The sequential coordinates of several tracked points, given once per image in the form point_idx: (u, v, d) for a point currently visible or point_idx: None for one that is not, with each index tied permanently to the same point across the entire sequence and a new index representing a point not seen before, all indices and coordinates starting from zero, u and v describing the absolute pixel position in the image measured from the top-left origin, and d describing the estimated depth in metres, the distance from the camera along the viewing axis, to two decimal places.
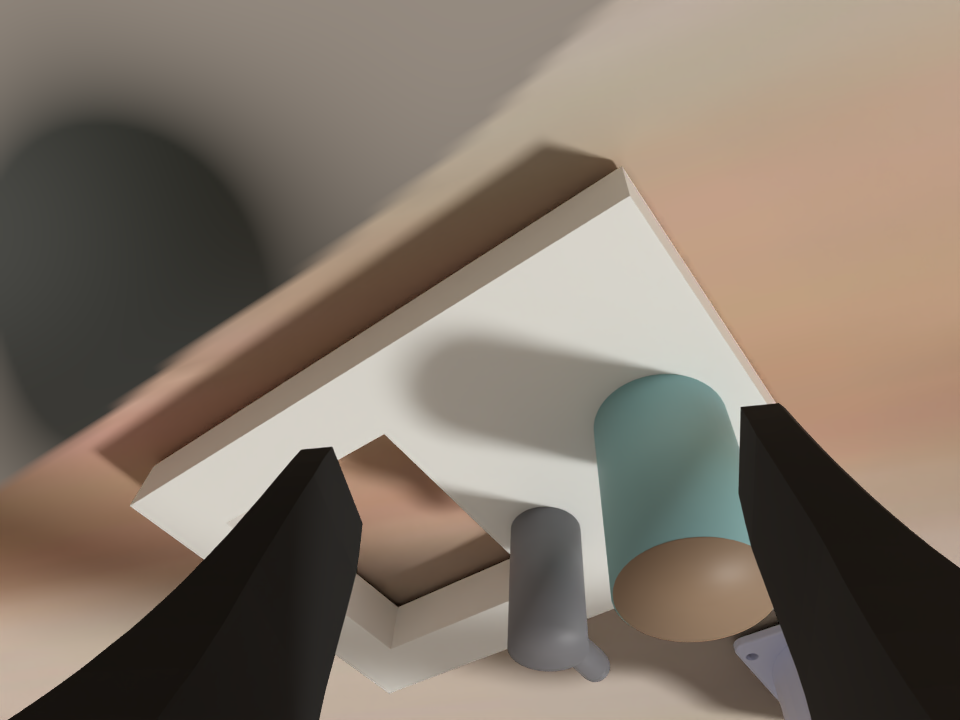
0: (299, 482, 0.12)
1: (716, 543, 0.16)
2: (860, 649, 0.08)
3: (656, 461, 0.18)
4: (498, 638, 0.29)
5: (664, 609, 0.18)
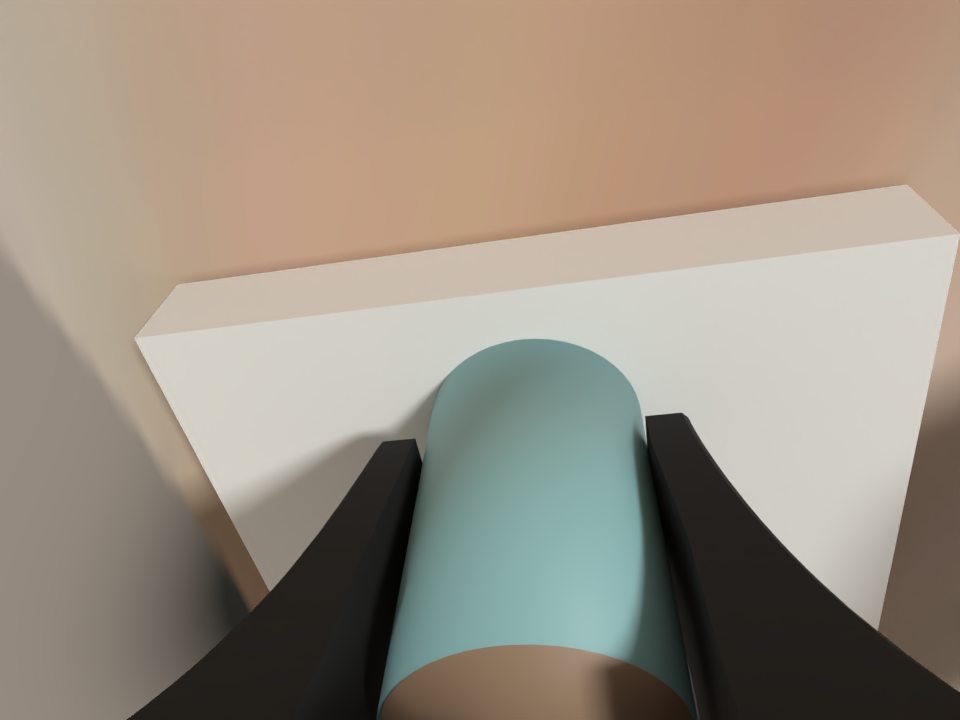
0: (389, 473, 0.12)
1: (410, 690, 0.09)
2: (713, 656, 0.08)
3: None
4: None
5: None
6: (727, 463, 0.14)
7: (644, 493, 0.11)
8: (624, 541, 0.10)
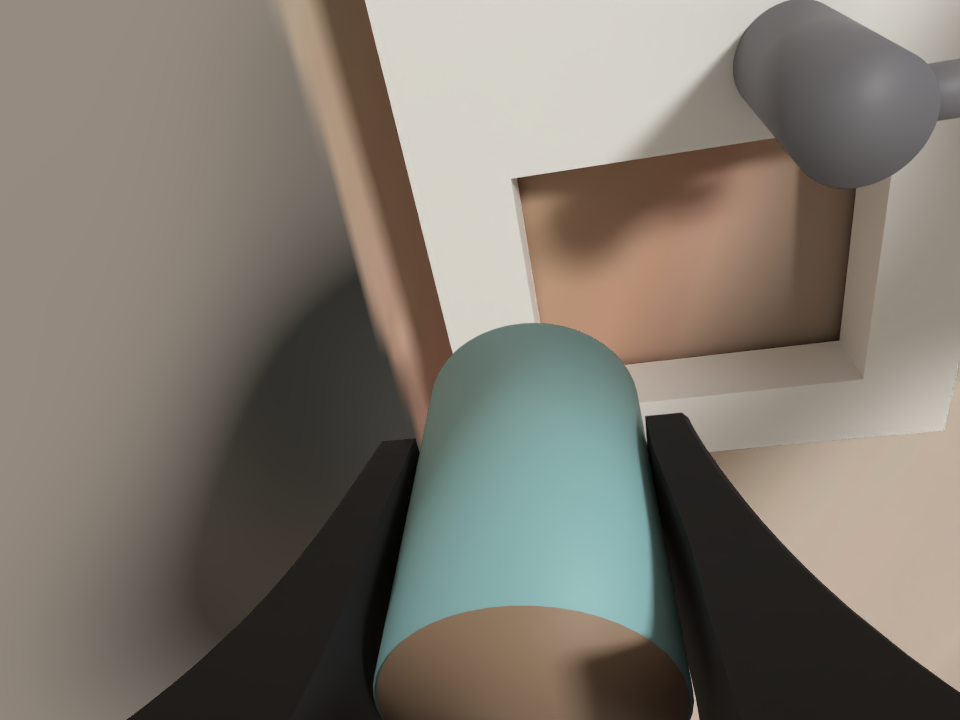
0: (389, 474, 0.12)
1: (408, 653, 0.09)
2: (713, 656, 0.08)
3: None
4: (955, 238, 0.18)
5: None
6: None
7: (642, 472, 0.11)
8: (622, 513, 0.10)
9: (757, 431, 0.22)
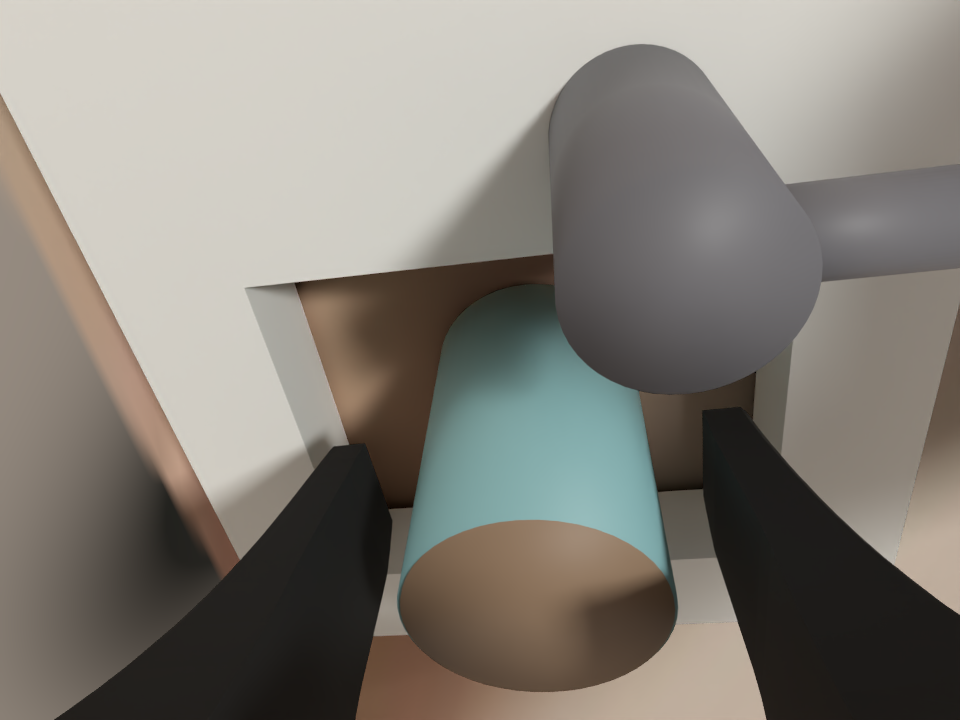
0: (335, 479, 0.12)
1: (429, 566, 0.10)
2: (801, 652, 0.08)
3: None
4: (891, 388, 0.13)
5: (552, 653, 0.11)
6: None
7: (633, 415, 0.12)
8: (616, 447, 0.11)
9: None
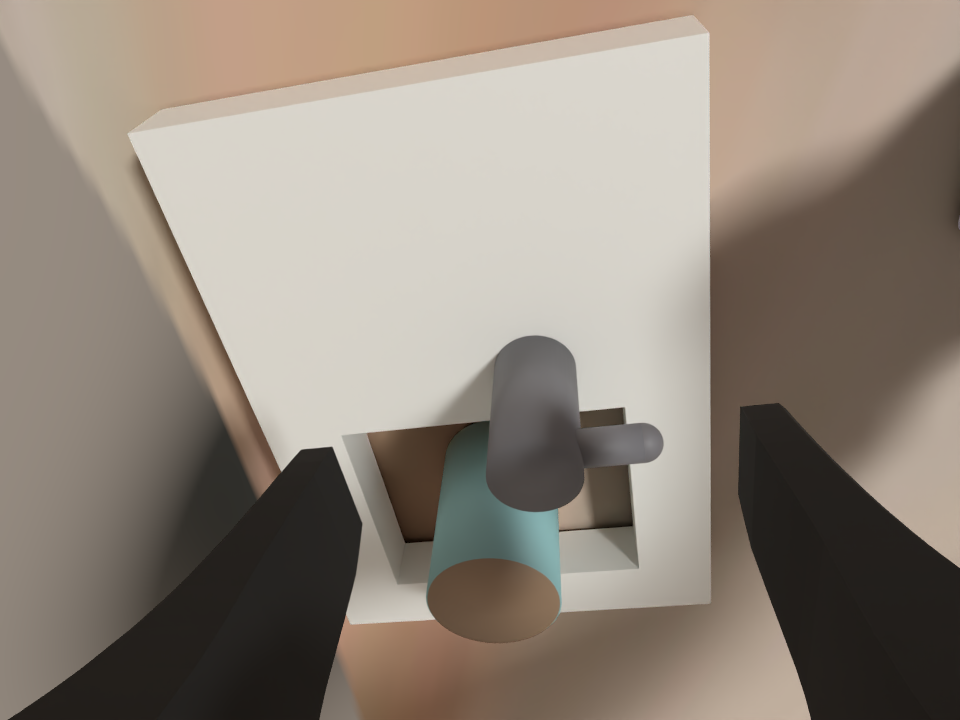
0: (299, 482, 0.12)
1: (441, 580, 0.21)
2: (860, 649, 0.08)
3: None
4: (685, 480, 0.24)
5: (503, 622, 0.22)
6: (574, 236, 0.19)
7: None
8: (532, 519, 0.22)
9: (564, 601, 0.28)
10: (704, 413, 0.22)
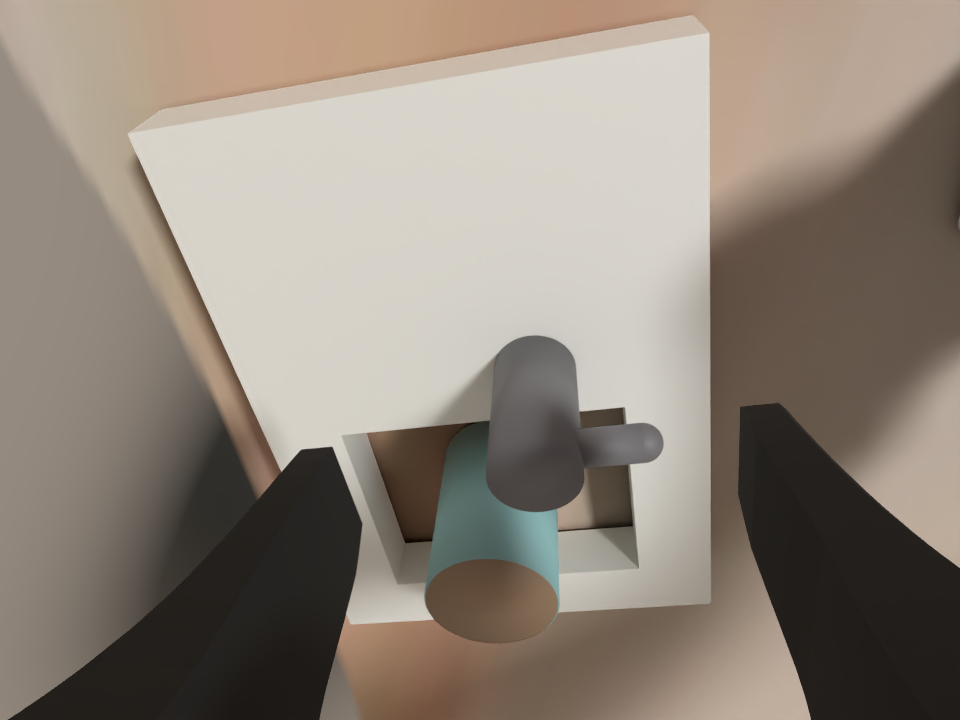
0: (299, 482, 0.12)
1: (439, 580, 0.21)
2: (860, 649, 0.08)
3: None
4: (685, 480, 0.24)
5: (501, 622, 0.22)
6: (574, 236, 0.19)
7: None
8: (531, 519, 0.22)
9: (564, 601, 0.28)
10: (704, 413, 0.22)
